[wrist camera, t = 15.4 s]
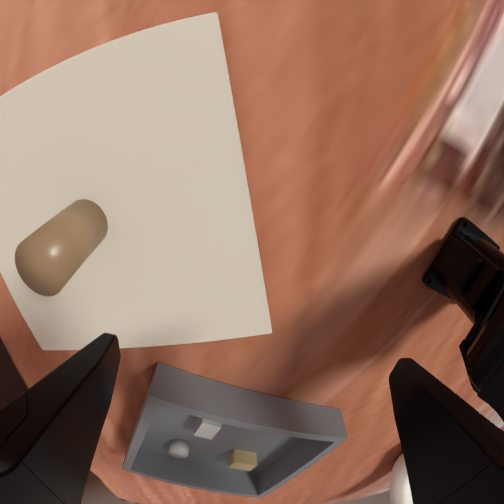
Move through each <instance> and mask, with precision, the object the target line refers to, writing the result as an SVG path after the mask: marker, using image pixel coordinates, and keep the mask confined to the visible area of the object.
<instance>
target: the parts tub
mask: <svg viewBox="0 0 504 504" xmlns="http://www.w3.org/2000/svg"><path fill="white" fill-rule="evenodd" d="M347 438H348V437H347V433H346V429H345V425H344V421H343V417H342V414H341V410H340V409H337V408H331V407H325V406H320V405H314V404H309V403H304V402H299V401H294V400H289V399H285V398H280V397H276V396H272V395H267V394H263V393H259V392H255V391H251V390H247V389H244V388H240V387H236V386H232V385H229V384H225V383H222V382H218V381H215V380H211V379H208V378H205V377H202V376H198V375H195V374H192V373H189V372H186V371H183V370H180V369H177V368H174V367H171V366H168V365H165V364H162V363H159V362H158V363H157V366H156V368H155V371H154V374H153V376H152V379H151V382H150V384H149V387H148V390H147V392H146V395H145V398H144V401H143V403H142V406H141V409H140V412H139V414H138V417H137V420H136V423H135V426H134V428H133V431H132V434H131V437H130V440H129V443H128V446H127V450H126V454H125V458H124V463H123V467H122V470H126V471H129V472H132V473H135V474H138V475H142V476H145V477H149V478H152V479H156V480H160V481H164V482H168V483H172V484H176V485H181V486H185V487H190V488H195V489H200V490H205V491H211V492H217V493H223V494H230V495H238V496H246V497H256V498H262V497H264V496H266V495H268V494H269V493H271V492H272V491H274V490H276V489H277V488H279V487H281V486H282V485H284V484H285V483H287V482H288V481H290V480H291V479H293V478H294V477H296V476H297V475H299V474H300V473H302V472H303V471H305V470H306V469H308V468H309V467H310V466H312V465H313V464H315V463H316V462H317V461H319V460H320V459H321V458H323V457H324V456H325V455H327V454H328V453H329V452H331V451H332V450H333V449H335V448H336V447H337V446H339V445H340V444H341V443H342V442H344V441H345V440H346V439H347Z"/></svg>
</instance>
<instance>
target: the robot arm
mask: <svg viewBox="0 0 504 504" xmlns="http://www.w3.org/2000/svg"><path fill="white" fill-rule="evenodd" d="M464 222H465V223H464ZM463 223H464V225H463ZM429 278H430V279H429ZM428 279H429V280H428ZM427 280H428V281H427ZM422 281H423V283H424V284H425V285H426V286H427V287H429V288H431V289H433V290H435V291H437V292H439V293H441V294H443V295H445V296H447V297H449V298H451V299H452V300H454V301H455V302H456V304H457V305H458V306H459V307H460V308H461V310H462V311H463V312H464V313H465V314H466V316H467V317H468V318H469V319H470V321H471V322H472V323H473V324H474V325H473V327H472V328H471V330H470V331H469V333H468V335H467V336H466V338H465V339H464V340H463V341H462V342H461V344H460V345H459V348H460V351H461V354H462V357H463V360H464V363H465V366H466V370H467V375H468V377H469V380H470V383H471V385H472V387H473V390H474V391H476V392H477V395H478V397H479V398H481V399H482V400H484V401H485V402H486V403H488V404H489V405H490V406H491V407H492V408H493V409H494V410H495V411H496V412H497V413H498V415H499V416H500V417H501V419H502V420H503V421H504V254H503V253H502V252H501V251H500V247H499V246H498V245H497V244H496V243H495V242H494V241H493V240H492V239H491V238H489V237H488V236H487V235H486V234H485V233H484V232H482V231H481V230H480V229H479V228H478V227H477V226H475V225H474V224H473V223H472V222H471V221H469V220H468V219H467V218H465V217H462V218H460V220H459V221H458V223H457V225H456V226H455V228H454V230H453V231H452V233H451V235H450V236H449V238H448V240H447V241H446V243H445V244H444V246H443V248H442V249H441V251H440V252H439V254H438V256H437V257H436V259H435V260H434V262H433V263H432V265H431V266H430V268H429V269H428V271H427V272H426V274H425V275H424V277H423V280H422ZM119 363H120V348H119V342H118V337H117V335H115V334H110V333H103V334H101V335H100V336H99V337H97V338H96V339H94V340H93V341H92V342H90V343H89V344H88V345H86V346H85V347H84V348H82V349H81V350H80V351H78V352H77V353H76V354H74V355H73V356H72V357H70V358H69V359H68V360H66V361H65V362H64V363H62V364H61V365H60V366H58V367H57V368H56V369H54V370H53V371H52V372H50V373H49V374H48V375H46V376H45V377H44V378H42V379H41V380H40V381H38V382H37V383H36V384H34V385H33V386H32V387H30V388H29V389H28V390H27V391H26V393H25V392H24V393H22V394H21V395H20V396H19V397H17V398H16V399H15V400H13V401H12V402H10V403H9V404H8V405H6V406H5V407H3V408H2V409H0V504H81V500H82V496H83V492H84V488H85V485H86V481H87V478H88V474H89V470H90V467H91V464H92V460H93V457H94V453H95V450H96V447H97V444H98V440H99V437H100V434H101V431H102V428H103V425H104V422H105V419H106V416H107V413H108V410H109V406H110V403H111V399H112V394H113V390H114V385H115V381H116V376H117V372H118V367H119ZM389 385H390V391H391V397H392V403H393V410H394V416H395V421H396V426H397V430H398V434H399V438H400V442H401V447H402V451H403V455H404V460H405V465H406V469H407V474H408V479H409V484H410V490H411V495H412V501H413V504H504V431H502V430H501V429H499V428H498V427H497V426H495V425H494V424H493V423H491V422H490V421H489V420H488V419H486V418H485V417H484V416H483V415H481V414H479V412H478V411H476V410H475V409H474V408H473V407H472V406H470V405H469V404H468V403H467V402H465V401H464V400H463V399H462V398H460V397H459V396H458V395H457V394H455V393H454V392H453V391H452V390H450V389H449V388H448V387H447V386H445V385H444V384H443V383H442V382H440V381H439V380H438V379H437V378H435V377H434V376H433V375H432V374H430V373H429V372H428V371H427V370H425V369H424V368H423V367H421V366H420V365H419V364H418V363H416V362H415V361H414V360H413V359H411V358H401V359H399V360H398V362H397V363H396V365H395V367H394V368H393V370H392V372H391V373H390V376H389Z"/></svg>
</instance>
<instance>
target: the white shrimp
mask: <svg viewBox="0 0 504 504" xmlns="http://www.w3.org/2000/svg"><path fill="white" fill-rule="evenodd" d="M390 500H391V504H413V501H412V495H411V490H410V484H409V479H408V474H407V469H406V465H405V460H404V455H403V453H402V454H401V455H400V456H399V457H398V459H397V460H396V462H395V463H394V466H393V468H392V472H391V478H390Z"/></svg>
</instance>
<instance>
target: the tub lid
mask: <svg viewBox="0 0 504 504" xmlns="http://www.w3.org/2000/svg"><path fill="white" fill-rule="evenodd" d="M0 272H1V275H2V277H3V279H4V281H5V283H6V285H7V287H8V289H9V291H10V293H11V295H12V297H13V299H14V301H15V303H16V305H17V307H18V309H19V311H20V313H21V314H22V316H23V318H24V320H25V322H26V323H27V325H28V327H29V329H30V330H31V332H32V334H33V335H34V337H35V339H36V340H37V342H38V344H39V345H40V347H41V348H42V350H81V349H82V348H84V347H85V346H86V345H88V344H89V343H90V342H92V341H93V340H94V339H96V338H97V337H99V336H100V335H101V334H103V333H110V334H115V335H117V337H118V342H119V348H136V347H151V346H164V345H176V344H187V343H197V342H207V341H216V340H224V339H233V338H241V337H248V336H256V335H263V334H270V333H272V327H271V320H270V314H269V308H268V302H267V296H266V290H265V284H264V278H263V272H262V266H261V260H260V254H259V248H258V242H257V236H256V230H255V224H254V218H253V212H252V206H251V200H250V194H249V189H248V183H247V177H246V171H245V165H244V159H243V154H242V148H241V142H240V136H239V131H238V125H237V119H236V113H235V108H234V102H233V96H232V91H231V85H230V79H229V74H228V68H227V62H226V57H225V51H224V46H223V40H222V35H221V29H220V24H219V18H218V14H217V12H215V13H209V14H204V15H199V16H195V17H190V18H186V19H182V20H177V21H174V22H170V23H166V24H162V25H159V26H155V27H152V28H148V29H145V30H142V31H139V32H136V33H132V34H129V35H127V36H124V37H121V38H118V39H115V40H112V41H110V42H107V43H105V44H102V45H99V46H97V47H94V48H92V49H90V50H87V51H85V52H83V53H80V54H78V55H76V56H73V57H71V58H69V59H67V60H65V61H63V62H61V63H59V64H57V65H55V66H53V67H51V68H49V69H47V70H45V71H43V72H41V73H39V74H37V75H35V76H33V77H32V78H30V79H28V80H26V81H25V82H23V83H21V84H19V85H18V86H16V87H14V88H13V89H11V90H9V91H8V92H6V93H5V94H3V95H1V96H0Z"/></svg>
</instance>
